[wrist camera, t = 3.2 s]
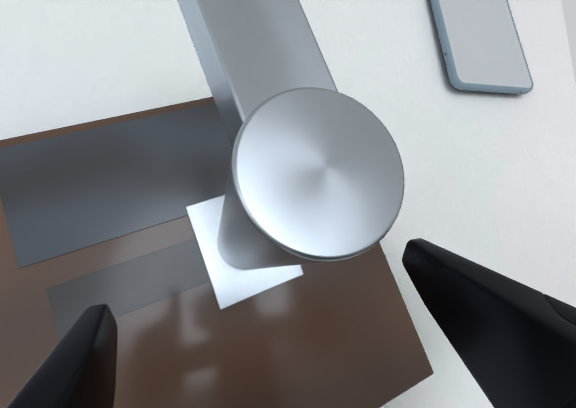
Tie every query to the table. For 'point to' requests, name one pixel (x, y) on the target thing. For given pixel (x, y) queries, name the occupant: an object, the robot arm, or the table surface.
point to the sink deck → (180, 278)
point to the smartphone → (481, 46)
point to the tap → (285, 152)
